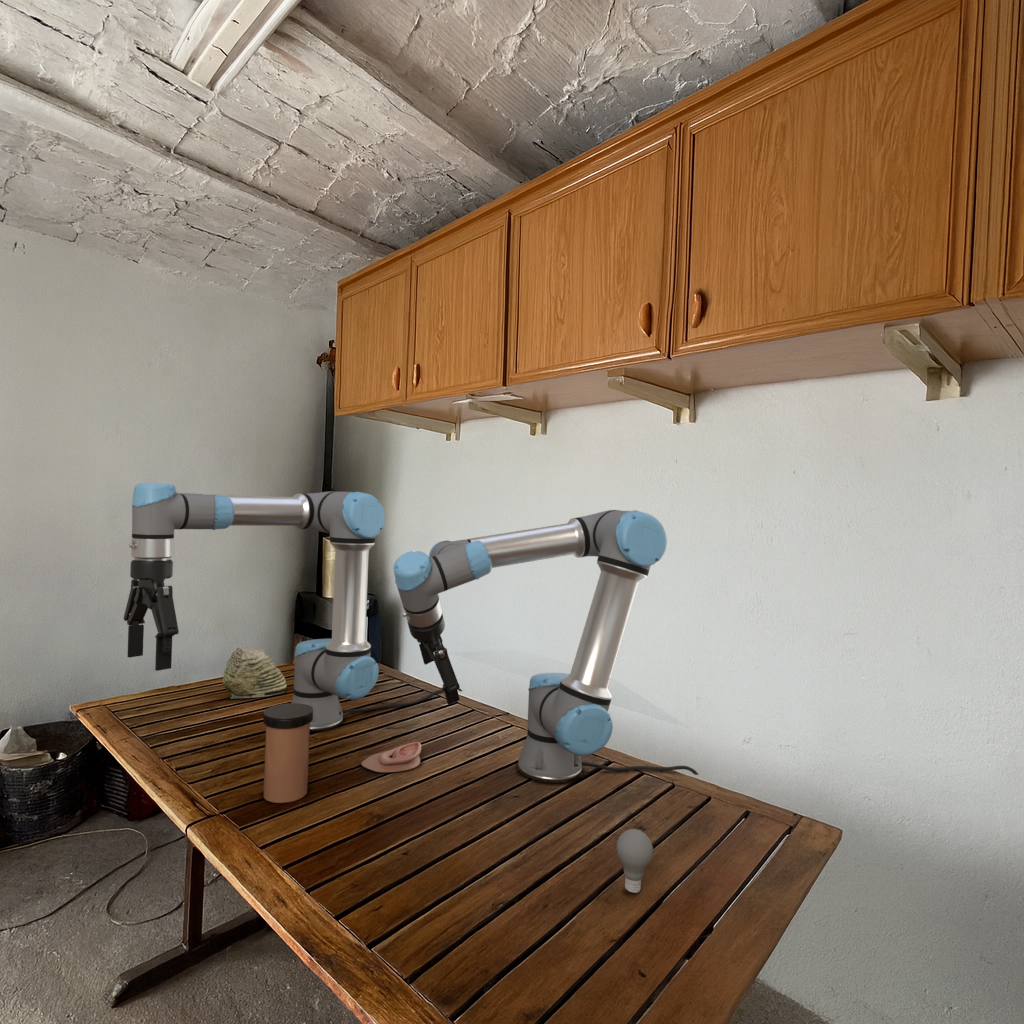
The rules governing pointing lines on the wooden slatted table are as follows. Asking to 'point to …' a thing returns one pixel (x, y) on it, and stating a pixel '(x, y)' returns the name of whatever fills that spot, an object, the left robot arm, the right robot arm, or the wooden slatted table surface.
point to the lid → (288, 715)
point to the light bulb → (634, 857)
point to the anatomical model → (395, 759)
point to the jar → (286, 763)
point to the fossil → (252, 674)
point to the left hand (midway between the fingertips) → (148, 662)
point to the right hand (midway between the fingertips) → (441, 680)
